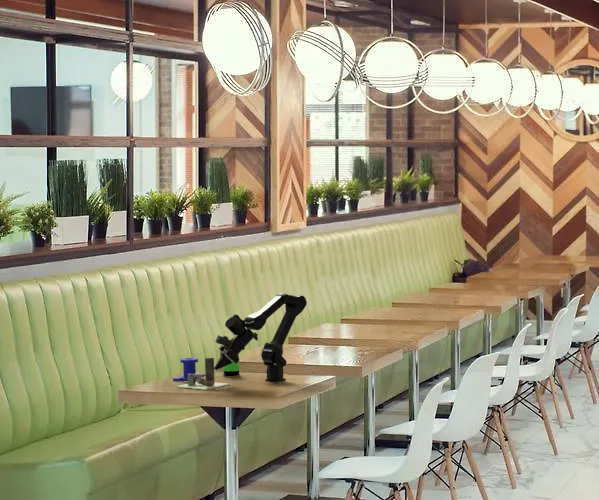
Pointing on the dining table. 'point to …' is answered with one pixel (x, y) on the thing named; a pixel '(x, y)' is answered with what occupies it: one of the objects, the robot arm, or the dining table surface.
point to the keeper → (193, 378)
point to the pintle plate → (203, 385)
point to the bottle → (231, 369)
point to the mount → (187, 368)
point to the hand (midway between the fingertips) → (214, 369)
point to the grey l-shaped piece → (208, 372)
